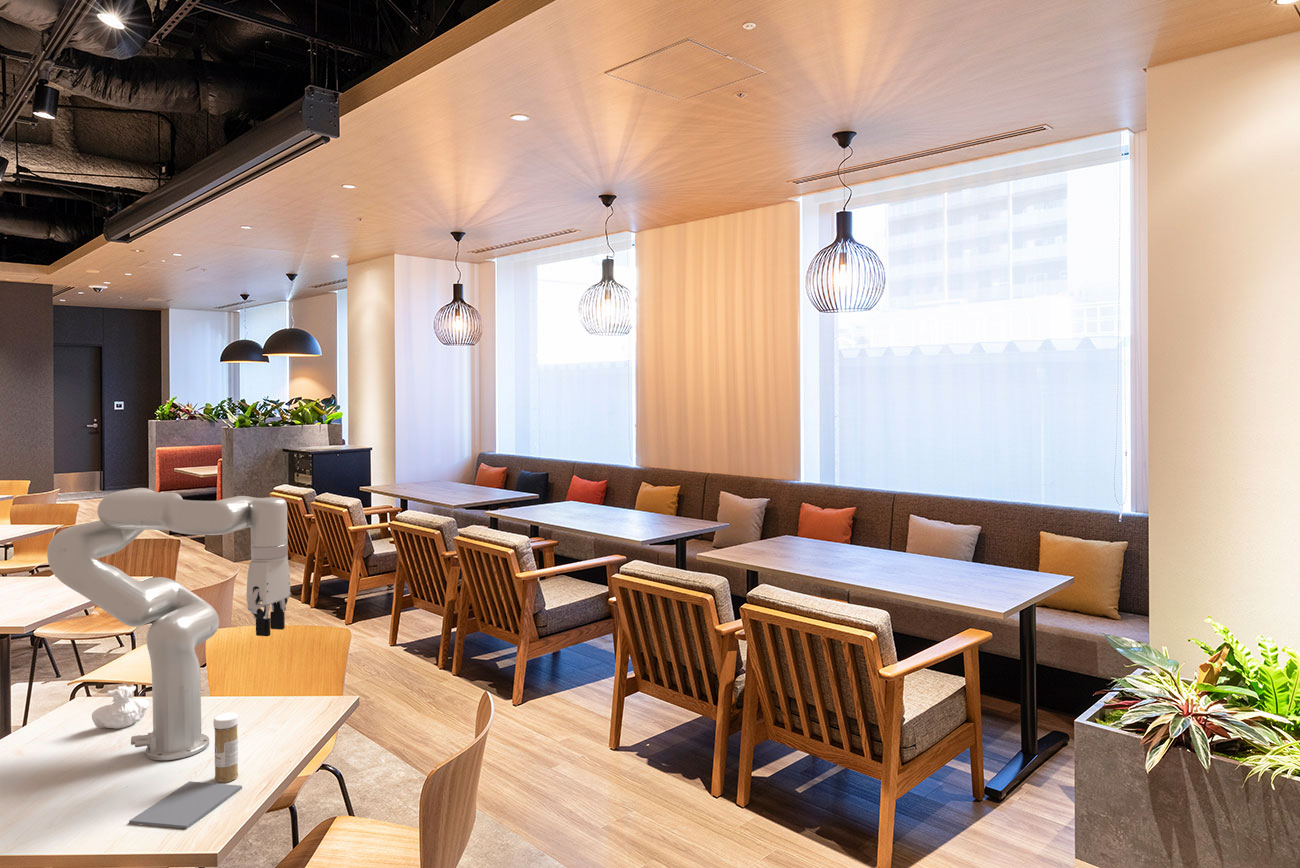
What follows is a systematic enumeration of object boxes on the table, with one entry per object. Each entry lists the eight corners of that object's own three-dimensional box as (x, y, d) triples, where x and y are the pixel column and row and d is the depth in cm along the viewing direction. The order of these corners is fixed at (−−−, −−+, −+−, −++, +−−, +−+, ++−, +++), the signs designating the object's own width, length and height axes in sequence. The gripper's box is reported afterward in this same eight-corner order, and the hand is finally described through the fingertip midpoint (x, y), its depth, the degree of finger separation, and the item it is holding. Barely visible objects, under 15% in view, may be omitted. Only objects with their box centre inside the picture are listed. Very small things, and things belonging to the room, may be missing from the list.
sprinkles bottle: (210, 779, 171) (209, 716, 170) (233, 771, 174) (232, 710, 174) (219, 785, 168) (219, 721, 167) (242, 778, 171) (241, 715, 171)
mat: (186, 829, 151) (186, 825, 151) (129, 823, 153) (129, 820, 153) (242, 788, 167) (242, 785, 167) (189, 784, 169) (189, 781, 169)
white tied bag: (92, 741, 194) (96, 713, 189) (88, 715, 199) (92, 687, 193) (150, 728, 202) (155, 700, 197) (144, 703, 207) (150, 675, 201)
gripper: (276, 545, 192) (277, 621, 193) (229, 559, 176) (230, 642, 176) (306, 546, 191) (306, 623, 192) (261, 560, 175) (262, 644, 175)
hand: (270, 631), depth 184 cm, fingers open, 4 cm apart
